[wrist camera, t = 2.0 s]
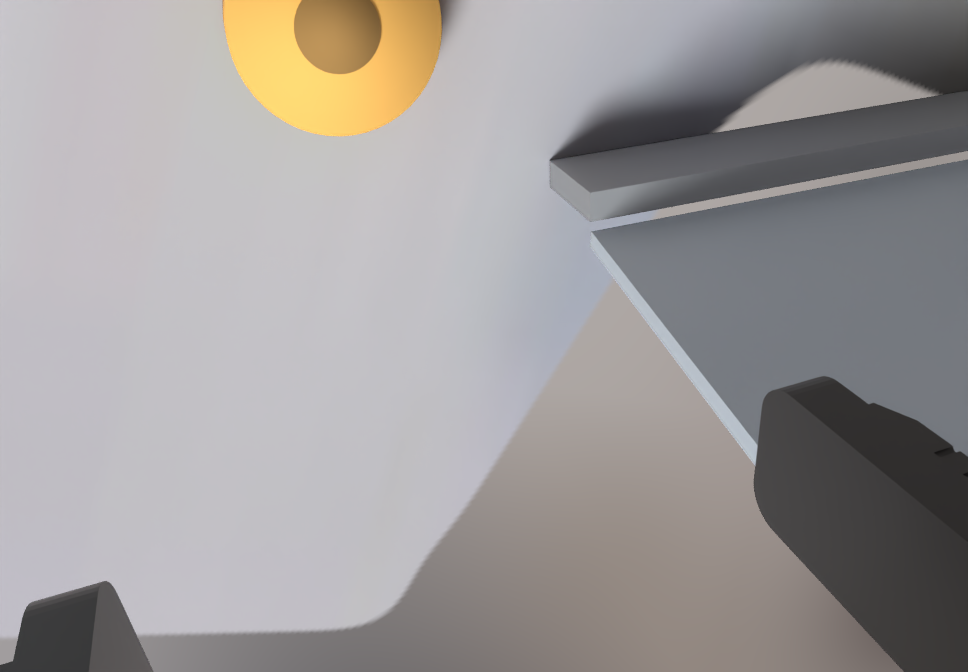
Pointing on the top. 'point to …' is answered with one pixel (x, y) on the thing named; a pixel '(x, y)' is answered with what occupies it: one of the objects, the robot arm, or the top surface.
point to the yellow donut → (334, 58)
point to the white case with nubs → (760, 156)
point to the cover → (813, 295)
